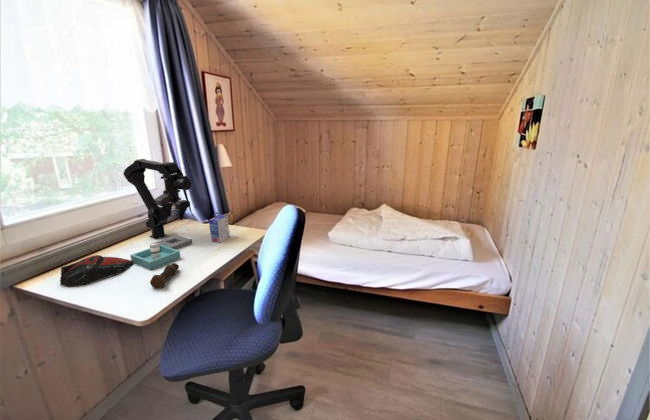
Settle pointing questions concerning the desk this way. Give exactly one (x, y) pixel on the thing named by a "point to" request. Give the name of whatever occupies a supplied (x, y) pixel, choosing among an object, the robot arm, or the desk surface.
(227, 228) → the ink cartridge box
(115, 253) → the desk surface
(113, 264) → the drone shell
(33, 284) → the desk surface
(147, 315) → the desk surface
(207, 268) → the desk surface
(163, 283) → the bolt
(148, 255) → the parts tray
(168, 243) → the frame
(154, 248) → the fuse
